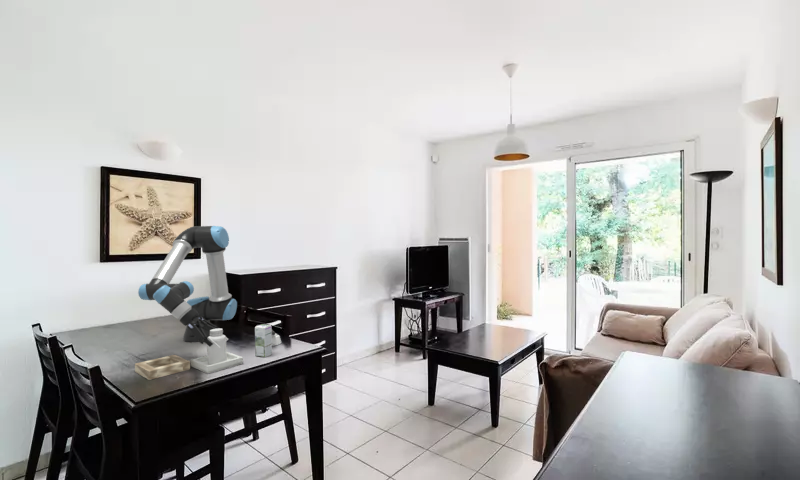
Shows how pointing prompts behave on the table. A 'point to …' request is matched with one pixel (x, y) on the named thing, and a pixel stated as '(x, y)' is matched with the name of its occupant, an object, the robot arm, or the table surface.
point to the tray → (205, 367)
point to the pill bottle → (221, 353)
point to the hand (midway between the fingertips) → (222, 345)
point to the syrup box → (263, 340)
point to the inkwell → (275, 339)
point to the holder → (162, 366)
